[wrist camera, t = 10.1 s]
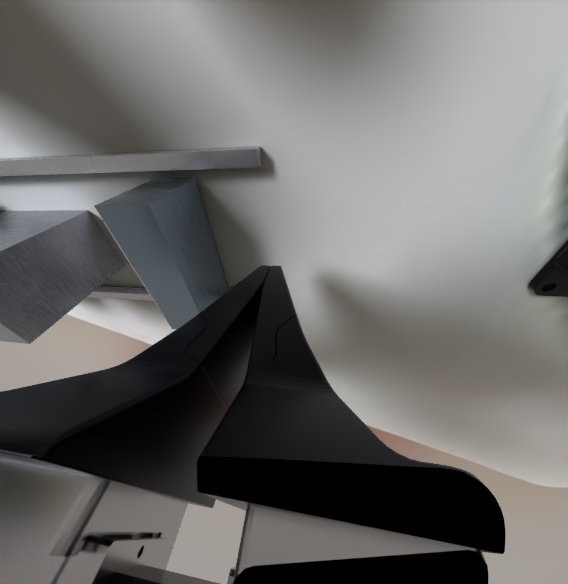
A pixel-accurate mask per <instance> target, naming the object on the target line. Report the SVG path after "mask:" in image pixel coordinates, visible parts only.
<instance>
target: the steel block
mask: <svg viewBox="0 0 568 584" xmlns="http://www.w3.org/2000/svg"><path fill="white" fill-rule="evenodd" d="M123 266H125V265H124V263H123V262H122V260H121V259H120V257H119V256H118V254H117V253H116V251H115V250H114V248H113V247H112V245H111V244H110V242H109V241H108V239H107V238H106V236H105V235H104V233H103V232H102V230H101V229H100V227H99V225H98V224H97V222H96V221H95V219H94V218H93V216H92V215H91V213H90V212H89V210H82V211H3V212H0V341H7V342H16V343H27V344H30V343H31V342H33V341H34V340H35V339H36V338H38V337H39V336H40V335H41V334H42V333H44V332H45V331H46V330H47V329H48V328H50V327H51V326H52V325H53V324H55V323H56V322H57V321H58V320H59V319H61V318H62V317H63V316H64V315H65V314H67V313H68V312H69V311H70V310H71V309H73V308H74V307H75V306H76V305H78V304H79V303H80V302H81V301H82V300H84V299H85V298H86V297H87V296H88V295H90V294H91V293H92V292H93V291H94V290H96V289H97V288H98V287H99V286H100V285H102V284H103V283H104V282H105V281H107V280H108V279H109V278H110V277H111V276H113V275H114V274H115V273H116V272H117V271H119V270H120V269H121V268H122V267H123Z"/></svg>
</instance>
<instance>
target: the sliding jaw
mask: <svg viewBox="0 0 568 584" xmlns="http://www.w3.org/2000/svg"><path fill="white" fill-rule="evenodd" d="M95 208H96V209H97V211H98V212H99V214H100V215H101V217H102V219H103V223H104V224H105V226H106V227H107V229H108V230H109V232H110V234H111V235H112V237H113V238H114V240H115V241H116V243H117V245H118V246H119V248H120V249H121V251H122V252H123V254H124V255H125V257H126V259H127V260H128V262H129V263H130V265H131V266H132V268H133V270H134V271H135V273H136V274H137V276H138V277H139V279H140V281H141V282H142V284H143V285H144V287H145V288H146V290H147V291H148V293H149V295H150V296H151V298H152V299H153V301H154V302H155V304H156V306H157V307H158V309H159V310H160V312H161V313H162V315H163V316H164V318H166V319H167V321H168V323H169V324H170V326H171V327H172V329H178V328H180V327H181V326H183V325H184V324H185V323H187V322H188V321H189V320H191V319H192V318H194V317H195V316H196V315H198V314H199V313H200V312H201V311H203V310H204V309H205V308H207V307H208V306H209V305H211V304H212V303H213V302H214V301H216V300H217V299H218V298H220V297H221V296H222V295H224V294H225V293H226V292H227V291H228V286H227V283H226V280H225V276H224V273H223V270H222V266H221V263H220V260H219V256H218V253H217V250H216V246H215V243H214V240H213V237H212V233H211V230H210V227H209V223H208V220H207V217H206V213H205V210H204V207H203V203H202V200H201V197H200V193H199V190H198V187H197V183H196V180H195V178H181V179H153V180H150V181H148V182H146V183H144V184H142V185H139V186H137V187H135V188H133V189H131V190H128V191H126V192H124V193H122V194H120V195H117V196H115V197H113V198H111V199H109V200H106V201H104V202H102V203H100V204H98V205H95Z"/></svg>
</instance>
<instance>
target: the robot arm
mask: <svg viewBox="0 0 568 584" xmlns="http://www.w3.org/2000/svg"><path fill="white" fill-rule="evenodd" d="M529 288H530V289H531V290H532V291H533V292H534V293H536V294H537V295H542V296H565V297H568V241H567V242H566V243H565V245H564V246H563V247H562V248H561V249H560V250H559V251H558V252H557V253H556V254H555V255H554V257H553V258H552V259H551V260H550V261H549V262H548V263H547V264H546V265H545V266H544V268H543V269H542V270H541V271H540V272H539V273H538V274H537V275H536V276H535V277H534V279H533V280H532V281H531V282H530V283H529ZM216 499H217V500H220V501H222V502H225V503H227V504H230V505H233V506H235V507H238V508H240V509H243V510H245V511H246V515H245V521H244V526H243V531H242V537H241V542H240V548H239V553H238V558H237V564H236V566H235V567H233V568H232V569H231V570H230V573H229V577H228V583H227V584H488V568H487V564H486V561H485V558H484V555H483V552H490V553H499V554H503V553H504V551H505V524H504V517H503V514H502V511H501V508H500V507H499V504H498V502H497V500H496V498H495V497H494V495H493V494H492V493H491V492H490V491H489V489H488V488H487V487H486V486H485V485H484V484H483V483H482V482H481V481H480V480H479V479H478V478H477V477H475V476H474V475H473V474H471V473H469V472H467V471H465V470H462V469H458V468H454V467H451V466H445V465H439V464H433V463H425V462H420V461H416V460H412V459H409V458H407V457H405V456H402V455H400V454H398V453H397V452H395V451H393V450H392V449H390V448H389V447H387V446H386V445H385V444H384V443H383V442H382V441H381V440H379V438H378V437H377V436H376V435H375V434H374V433H373V432H372V431H371V430H370V429H369V428H368V427H367V426H366V425H365V424H364V423H363V422H362V421H361V420H360V419H359V418H358V417H357V415H356V414H355V413H354V412H353V411H352V410H351V409H350V408H349V407H348V406H347V405H346V404H345V403H344V402H343V401H342V400H341V399H340V398H339V397H338V396H337V394H336V393H335V392H334V390H333V389H332V387H331V386H330V384H329V383H328V381H327V379H326V377H325V376H324V374H323V372H322V370H321V368H320V366H319V364H318V362H317V360H316V358H315V356H314V355H313V353H312V351H311V349H310V347H309V345H308V343H307V341H306V338H305V336H304V334H303V331H302V329H301V326H300V323H299V320H298V317H297V314H296V311H295V308H294V305H293V302H292V299H291V296H290V292H289V289H288V286H287V283H286V280H285V277H284V274H283V271H282V268H281V266H264V265H262V266H260V267H259V268H257V269H256V270H255V271H253V272H252V273H251V274H249V275H248V276H247V277H246V278H244V279H243V280H242V281H240V282H239V283H238V284H237V285H235V286H234V287H233V288H231V289H230V290H229V291H227V292H226V293H225V294H224V295H222V296H221V297H220V298H218V299H217V300H216V301H214V302H213V303H212V304H211V305H209V306H208V307H207V308H205V309H204V310H203V311H201V312H200V313H199V314H198V315H196V316H195V317H194V318H192V319H191V320H189V321H188V322H187V323H185V324H184V325H183V326H181V327H180V328H178V329H177V330H175V331H174V332H172V333H171V334H169V335H168V336H166V337H165V338H163V339H162V340H160V341H158V342H157V343H155V344H154V345H152V346H151V347H149V348H148V349H146V350H145V351H143V352H142V353H140V354H139V355H137V356H136V357H134V358H132V359H130V360H129V361H127V362H125V363H123V364H120V365H118V366H115V367H112V368H109V369H105V370H101V371H97V372H92V373H88V374H83V375H78V376H74V377H69V378H64V379H60V380H55V381H51V382H46V383H42V384H37V385H32V386H27V387H23V388H18V389H13V390H9V391H3V392H0V584H219V583H215V582H210V581H207V580H203V579H199V578H195V577H191V576H186V575H183V574H178V573H174V572H170V571H166V567H167V564H168V561H169V558H170V555H171V552H172V549H173V546H174V543H175V540H176V537H177V534H178V531H179V528H180V525H181V522H182V519H183V517H184V513H185V511H186V508H187V504H188V503H190V504H195V505H200V506H205V507H210V508H213V506H214V503H215V500H216Z"/></svg>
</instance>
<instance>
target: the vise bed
mask: <svg viewBox="0 0 568 584" xmlns="http://www.w3.org/2000/svg"><path fill="white" fill-rule="evenodd" d="M261 165H262V158H261V148H260V146H259V147H238V148H217V149H197V150H176V151H155V152H134V153H113V154H92V155H72V156H51V157H30V158H9V159H0V176H22V175H52V174H81V173H110V172H139V171H168V170H198V169H227V168H256V167H260V166H261ZM87 297H94V298H111V299H129V300H146V301H153V299H152V298H151V296H150V295H149V293H148V291H147V290H146V288H132V287H112V286H99V287H98V288H97V289H96V290H94V291H93V292H92V293H91V294H90V295H88V296H87Z"/></svg>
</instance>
